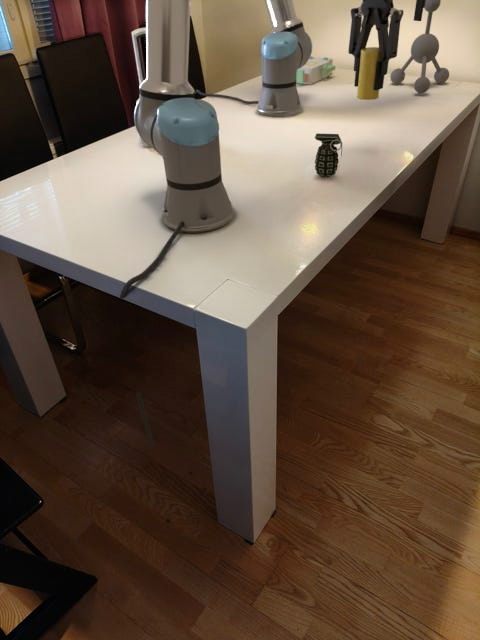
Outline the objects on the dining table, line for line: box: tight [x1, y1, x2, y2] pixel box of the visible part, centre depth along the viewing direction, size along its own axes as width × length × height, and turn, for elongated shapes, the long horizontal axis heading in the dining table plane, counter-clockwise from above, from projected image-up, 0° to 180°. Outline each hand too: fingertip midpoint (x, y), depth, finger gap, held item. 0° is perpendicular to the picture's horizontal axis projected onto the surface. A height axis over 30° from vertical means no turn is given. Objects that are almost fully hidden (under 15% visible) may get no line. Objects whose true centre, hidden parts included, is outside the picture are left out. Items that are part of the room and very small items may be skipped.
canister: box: [356, 46, 380, 101], centre depth 123 cm, size 6×6×11 cm
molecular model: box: [390, 0, 450, 94], centre depth 178 cm, size 24×22×30 cm
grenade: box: [314, 133, 343, 179], centre depth 119 cm, size 7×6×10 cm
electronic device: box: [130, 27, 149, 148], centre depth 141 cm, size 12×8×30 cm, turn 105°
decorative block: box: [296, 55, 336, 85], centre depth 206 cm, size 26×6×20 cm
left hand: (368, 87), depth 125 cm, fingers closed on canister, 5 cm apart
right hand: (400, 23), depth 153 cm, fingers open, 13 cm apart
